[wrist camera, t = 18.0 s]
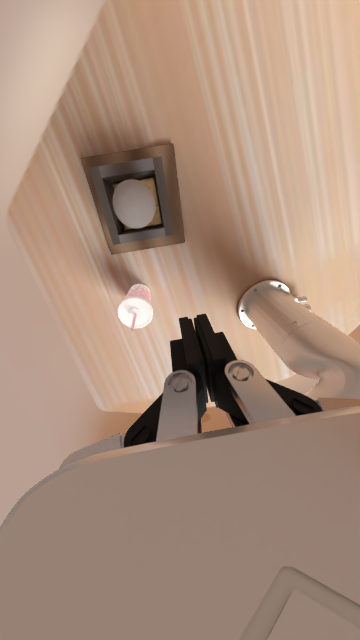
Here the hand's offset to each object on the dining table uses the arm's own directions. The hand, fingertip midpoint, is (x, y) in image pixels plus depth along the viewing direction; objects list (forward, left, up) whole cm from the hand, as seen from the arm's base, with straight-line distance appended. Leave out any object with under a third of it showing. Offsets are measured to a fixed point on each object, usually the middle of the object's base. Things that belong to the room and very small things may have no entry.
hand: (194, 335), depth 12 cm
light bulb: (+4, -8, -27) cm, 29 cm away
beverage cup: (+8, +8, -29) cm, 31 cm away
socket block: (+4, -8, -29) cm, 30 cm away
